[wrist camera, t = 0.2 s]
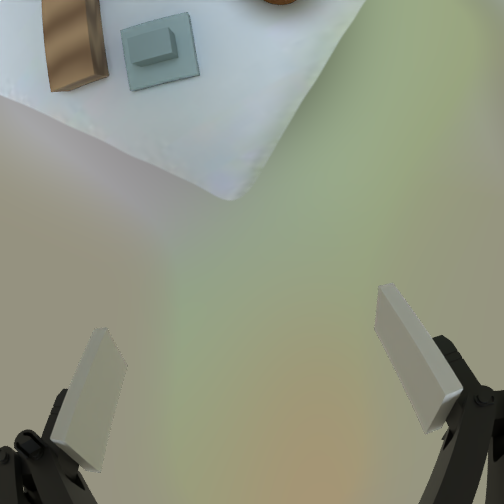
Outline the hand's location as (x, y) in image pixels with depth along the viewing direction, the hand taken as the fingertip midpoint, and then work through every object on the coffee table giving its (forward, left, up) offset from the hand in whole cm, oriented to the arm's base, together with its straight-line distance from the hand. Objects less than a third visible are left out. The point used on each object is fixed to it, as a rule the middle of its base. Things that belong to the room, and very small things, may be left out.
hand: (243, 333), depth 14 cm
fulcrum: (-18, -6, -28) cm, 33 cm away
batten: (-26, -16, -28) cm, 41 cm away
